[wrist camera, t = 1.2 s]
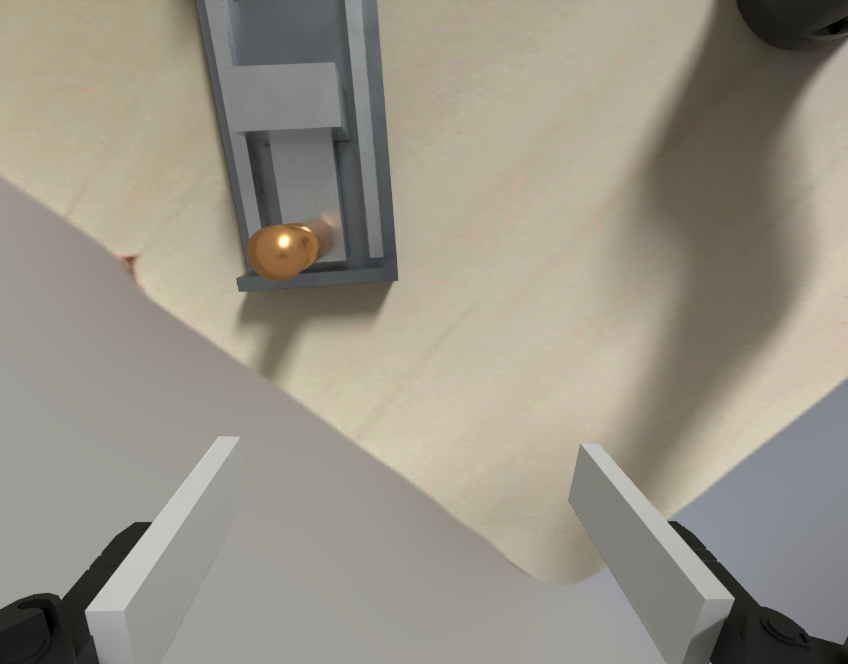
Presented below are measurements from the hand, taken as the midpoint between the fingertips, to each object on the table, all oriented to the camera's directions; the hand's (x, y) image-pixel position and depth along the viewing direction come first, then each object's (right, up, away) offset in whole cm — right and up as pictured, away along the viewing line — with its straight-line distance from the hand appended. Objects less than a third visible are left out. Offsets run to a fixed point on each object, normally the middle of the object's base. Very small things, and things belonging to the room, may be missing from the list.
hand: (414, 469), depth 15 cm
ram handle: (-10, +19, +19) cm, 29 cm away
